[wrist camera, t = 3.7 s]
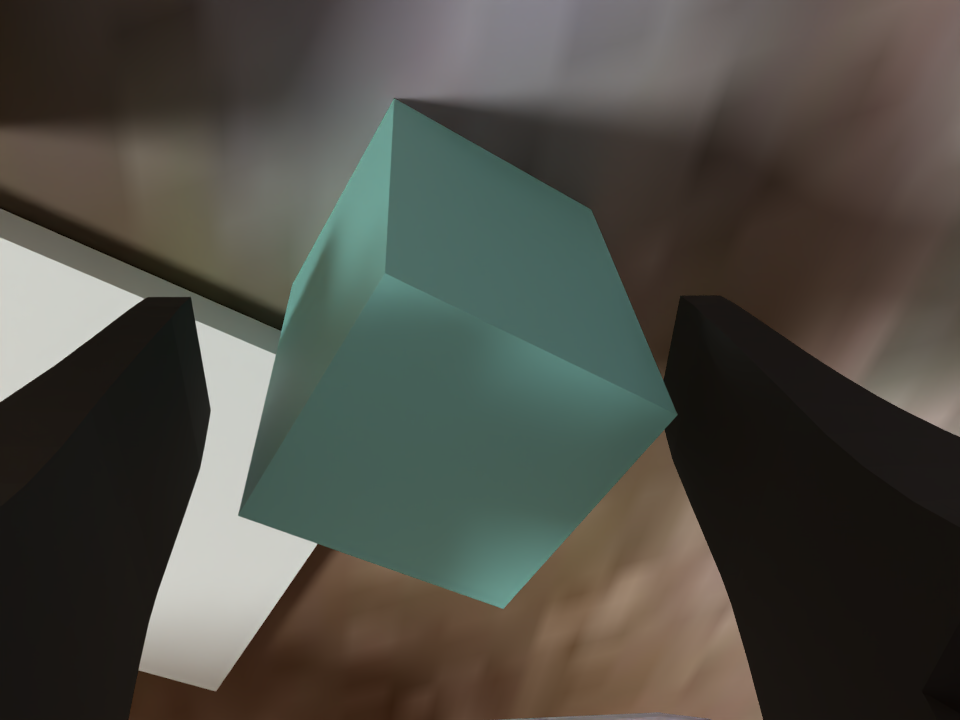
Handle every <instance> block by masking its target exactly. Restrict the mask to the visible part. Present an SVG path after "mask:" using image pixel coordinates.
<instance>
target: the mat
mask: <svg viewBox="0 0 960 720" xmlns="http://www.w3.org/2000/svg"><path fill="white" fill-rule="evenodd" d="M147 297H191V300H192V306H193V311H194V317H195V323H196V328H197V334H198V340H199V346H200V351H201V357H202V363H203V368H204V374H205V380H206V385H207V391H208V397H209V402H210V408H211V413H210V419H209V425H208V430H207V436H206V442H205V447H204V452H203V457H202V462H201V467H200V470H199V474H198V477H197V480H196V483H195V486H194V489H193V492H192V495H191V498H190V501H189V504H188V506H187V509H186V512H185V515H184V518H183V521H182V524H181V527H180V530H179V533H178V535H177V538H176V541H175V544H174V547H173V550H172V553H171V556H170V558H169V561H168V564H167V567H166V570H165V573H164V576H163V579H162V582H161V584H160V587H159V590H158V593H157V596H156V600H155V603H154V607H153V610H152V614H151V617H150V620H149V624H148V629H147V633H146V638H145V642H144V647H143V651H142V656H141V660H140V665H139V671H143V672H146V673H150V674H154V675H157V676H161V677H165V678H168V679H172V680H176V681H179V682H183V683H187V684H190V685H194V686H198V687H201V688H205V689H209V690H212V691H217V689H218V688H219V686H220V685H221V683H222V682H223V680H224V679H225V678H226V676H227V675H228V673H229V672H230V670H231V669H232V667H233V666H234V665H235V663H236V662H237V660H238V659H239V657H240V656H241V654H242V653H243V651H244V650H245V649H246V647H247V646H248V644H249V643H250V641H251V640H252V638H253V637H254V635H255V634H256V633H257V631H258V630H259V628H260V627H261V625H262V624H263V622H264V621H265V620H266V618H267V617H268V615H269V614H270V612H271V611H272V609H273V608H274V606H275V605H276V604H277V602H278V601H279V599H280V598H281V596H282V595H283V593H284V592H285V590H286V589H287V588H288V586H289V585H290V583H291V582H292V580H293V579H294V577H295V576H296V575H297V573H298V572H299V570H300V569H301V567H302V566H303V564H304V563H305V561H306V560H307V559H308V557H309V556H310V554H311V553H312V551H313V550H314V548H315V547H316V545H317V543H314V542H311V541H308V540H306V539H303V538H300V537H297V536H294V535H291V534H288V533H286V532H283V531H280V530H277V529H274V528H271V527H268V526H266V525H263V524H260V523H257V522H254V521H251V520H248V519H246V518H243V517H240V516H238V513H239V509H240V505H241V501H242V497H243V492H244V488H245V484H246V480H247V475H248V471H249V467H250V463H251V458H252V454H253V450H254V446H255V441H256V437H257V433H258V429H259V424H260V420H261V416H262V412H263V407H264V403H265V399H266V395H267V390H268V386H269V382H270V378H271V373H272V369H273V365H274V361H275V356H276V352H277V348H278V344H279V339H280V335H281V331H280V330H277V329H275V328H273V327H271V326H268V325H266V324H264V323H261V322H259V321H257V320H255V319H252V318H250V317H248V316H245V315H243V314H241V313H238V312H236V311H234V310H232V309H229V308H227V307H225V306H222V305H220V304H218V303H216V302H213V301H211V300H209V299H206V298H204V297H202V296H200V295H197V294H195V293H193V292H190V291H188V290H186V289H184V288H181V287H179V286H177V285H174V284H172V283H170V282H167V281H165V280H163V279H161V278H158V277H156V276H154V275H151V274H149V273H147V272H145V271H142V270H140V269H138V268H135V267H133V266H131V265H129V264H126V263H124V262H122V261H119V260H117V259H115V258H112V257H110V256H108V255H106V254H103V253H101V252H99V251H96V250H94V249H92V248H90V247H87V246H85V245H83V244H80V243H78V242H76V241H74V240H71V239H69V238H67V237H64V236H62V235H60V234H57V233H55V232H53V231H51V230H48V229H46V228H44V227H41V226H39V225H37V224H35V223H32V222H30V221H28V220H25V219H23V218H21V217H19V216H16V215H14V214H12V213H9V212H7V211H5V210H2V209H0V402H1V401H3V400H4V399H6V398H7V397H9V396H10V395H11V394H13V393H14V392H16V391H17V390H19V389H20V388H22V387H23V386H25V385H26V384H28V383H29V382H31V381H32V380H34V379H35V378H37V377H38V376H40V375H41V374H43V373H44V372H46V371H47V370H49V369H50V368H52V367H53V366H54V365H56V364H57V363H59V362H60V361H61V360H63V359H64V358H65V357H67V356H68V355H69V354H71V353H72V352H73V351H75V350H76V349H77V348H79V347H80V346H81V345H83V344H84V343H85V342H87V341H88V340H90V339H91V338H92V337H94V336H95V335H96V334H97V333H99V332H100V331H101V330H103V329H104V328H105V327H107V326H108V325H109V324H111V323H112V322H113V321H114V320H116V319H117V318H118V317H120V316H121V315H122V314H124V313H125V312H126V311H128V310H129V309H130V308H132V307H133V306H135V305H136V304H137V303H139V302H141V301H142V300H144V299H145V298H147Z"/></svg>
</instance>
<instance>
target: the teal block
mask: <svg viewBox="0 0 960 720" xmlns="http://www.w3.org/2000/svg"><path fill="white" fill-rule="evenodd" d="M676 416H677V412H676V410H675V408H674V405H673V403H672V400H671V398H670V396H669V393H668V391H667V389H666V386H665V384H664V381H663V379H662V377H661V374H660V372H659V370H658V367H657V365H656V362H655V360H654V358H653V355H652V353H651V350H650V348H649V346H648V343H647V341H646V339H645V336H644V334H643V331H642V329H641V327H640V324H639V322H638V320H637V317H636V315H635V312H634V310H633V308H632V305H631V303H630V301H629V298H628V296H627V293H626V291H625V289H624V286H623V284H622V282H621V279H620V277H619V274H618V272H617V270H616V267H615V265H614V262H613V260H612V258H611V255H610V253H609V251H608V248H607V246H606V243H605V241H604V239H603V236H602V234H601V232H600V229H599V227H598V224H597V222H596V220H595V217H594V215H593V213H592V210H591V209H589V208H587V207H586V206H584V205H582V204H580V203H579V202H577V201H575V200H573V199H572V198H570V197H568V196H566V195H564V194H563V193H561V192H559V191H557V190H556V189H554V188H552V187H550V186H549V185H547V184H545V183H543V182H541V181H540V180H538V179H536V178H534V177H533V176H531V175H529V174H527V173H526V172H524V171H522V170H520V169H518V168H517V167H515V166H513V165H511V164H510V163H508V162H506V161H504V160H503V159H501V158H499V157H497V156H496V155H494V154H492V153H490V152H488V151H487V150H485V149H483V148H481V147H480V146H478V145H476V144H474V143H473V142H471V141H469V140H467V139H465V138H464V137H462V136H460V135H458V134H457V133H455V132H453V131H451V130H450V129H448V128H446V127H444V126H442V125H441V124H439V123H437V122H435V121H434V120H432V119H430V118H428V117H427V116H425V115H423V114H421V113H419V112H418V111H416V110H414V109H412V108H411V107H409V106H407V105H405V104H404V103H402V102H400V101H398V100H396V99H395V98H394V100H393V101H392V103H391V105H390V107H389V109H388V111H387V112H386V114H385V116H384V118H383V120H382V122H381V123H380V125H379V127H378V129H377V131H376V133H375V134H374V136H373V138H372V140H371V142H370V144H369V145H368V147H367V149H366V151H365V153H364V154H363V156H362V158H361V160H360V162H359V164H358V165H357V167H356V169H355V171H354V173H353V175H352V176H351V178H350V180H349V182H348V184H347V186H346V187H345V189H344V191H343V193H342V195H341V197H340V198H339V200H338V202H337V204H336V206H335V208H334V209H333V211H332V213H331V215H330V217H329V219H328V220H327V222H326V224H325V226H324V228H323V230H322V231H321V233H320V235H319V237H318V239H317V241H316V242H315V244H314V246H313V248H312V250H311V252H310V253H309V255H308V257H307V259H306V261H305V263H304V264H303V266H302V268H301V270H300V272H299V274H298V275H297V277H296V279H295V281H294V283H293V285H292V288H291V293H290V297H289V301H288V305H287V310H286V314H285V318H284V322H283V327H282V331H281V335H280V339H279V344H278V348H277V352H276V356H275V361H274V365H273V369H272V373H271V378H270V382H269V386H268V390H267V395H266V399H265V403H264V407H263V412H262V416H261V420H260V424H259V429H258V433H257V437H256V441H255V446H254V450H253V454H252V458H251V463H250V467H249V471H248V475H247V480H246V484H245V488H244V492H243V497H242V501H241V505H240V509H239V513H238V516H240V517H243V518H246V519H248V520H251V521H254V522H257V523H260V524H263V525H266V526H268V527H271V528H274V529H277V530H280V531H283V532H286V533H288V534H291V535H294V536H297V537H300V538H303V539H306V540H308V541H311V542H314V543H317V544H320V545H323V546H325V547H328V548H331V549H334V550H337V551H340V552H343V553H345V554H348V555H351V556H354V557H357V558H360V559H363V560H365V561H368V562H371V563H374V564H377V565H380V566H383V567H385V568H388V569H391V570H394V571H397V572H400V573H402V574H405V575H408V576H411V577H414V578H417V579H420V580H422V581H425V582H428V583H431V584H434V585H437V586H440V587H442V588H445V589H448V590H451V591H454V592H457V593H460V594H462V595H465V596H468V597H471V598H474V599H477V600H479V601H482V602H485V603H488V604H491V605H494V606H497V607H499V608H502V609H503V608H504V607H505V606H506V605H507V604H508V603H509V602H510V601H511V600H512V598H513V597H514V596H515V595H516V594H517V593H518V592H519V591H520V590H521V588H522V587H523V586H524V585H525V584H526V583H527V582H528V581H529V580H530V578H531V577H532V576H533V575H534V574H535V573H536V572H537V571H538V570H539V568H540V567H541V566H542V565H543V564H544V563H545V562H546V561H547V560H548V558H549V557H550V556H551V555H552V554H553V553H554V552H555V551H556V550H557V548H558V547H559V546H560V545H561V544H562V543H563V542H564V541H565V539H566V538H567V537H568V536H569V535H570V534H571V533H572V532H573V531H574V529H575V528H576V527H577V526H578V525H579V524H580V523H581V522H582V521H583V519H584V518H585V517H586V516H587V515H588V514H589V513H590V512H591V511H592V509H593V508H594V507H595V506H596V505H597V504H598V503H599V502H600V501H601V499H602V498H603V497H604V496H605V495H606V494H607V493H608V492H609V491H610V489H611V488H612V487H613V486H614V485H615V484H616V483H617V482H618V481H619V479H620V478H621V477H622V476H623V475H624V474H625V473H626V472H627V471H628V469H629V468H630V467H631V466H632V465H633V464H634V463H635V462H636V461H637V459H638V458H639V457H640V456H641V455H642V454H643V453H644V452H645V451H646V449H647V448H648V447H649V446H650V445H651V444H652V443H653V442H654V440H655V439H656V438H657V437H658V436H659V435H660V434H661V433H662V432H663V430H664V429H665V428H666V427H667V426H668V425H669V424H670V423H671V422H672V420H673V419H674V418H675V417H676Z"/></svg>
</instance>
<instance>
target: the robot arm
mask: <svg viewBox="0 0 960 720" xmlns="http://www.w3.org/2000/svg"><path fill="white" fill-rule="evenodd" d="M664 384H665V386H666V389H667V391H668V393H669V396H670V398H671V400H672V403H673V405H674V408H675V410H676V412H677V416H676V417H675V418H674V419H673V420H672V422H671V423H670V424H669V425H668V426H667V427H666V428H665V433H666V437H667V440H668V444H669V448H670V452H671V455H672V459H673V462H674V464H675V467H676V469H677V472H678V474H679V477H680V479H681V481H682V484H683V486H684V489H685V491H686V494H687V496H688V499H689V501H690V503H691V506H692V508H693V510H694V513H695V515H696V518H697V520H698V522H699V525H700V527H701V529H702V532H703V534H704V536H705V539H706V541H707V544H708V546H709V548H710V551H711V553H712V555H713V558H714V560H715V563H716V565H717V567H718V570H719V572H720V574H721V577H722V580H723V582H724V585H725V588H726V591H727V593H728V596H729V599H730V602H731V605H732V608H733V612H734V615H735V618H736V622H737V625H738V629H739V632H740V636H741V639H742V642H743V646H744V649H745V653H746V656H747V660H748V663H749V667H750V671H751V675H752V679H753V682H754V686H755V690H756V694H757V697H758V701H759V705H760V709H761V713H762V716H763V720H960V437H958V436H956V435H954V434H952V433H949V432H947V431H945V430H943V429H941V428H939V427H937V426H935V425H933V424H931V423H929V422H927V421H925V420H923V419H921V418H918V417H916V416H914V415H912V414H910V413H908V412H906V411H904V410H902V409H900V408H898V407H897V406H895V405H893V404H891V403H889V402H887V401H885V400H884V399H882V398H880V397H878V396H876V395H875V394H873V393H871V392H870V391H868V390H866V389H865V388H863V387H861V386H860V385H858V384H856V383H854V382H853V381H851V380H849V379H848V378H846V377H844V376H843V375H841V374H839V373H838V372H836V371H835V370H833V369H832V368H830V367H828V366H827V365H825V364H824V363H822V362H821V361H819V360H818V359H816V358H814V357H813V356H811V355H810V354H808V353H807V352H805V351H804V350H802V349H801V348H799V347H798V346H796V345H795V344H794V343H792V342H791V341H789V340H788V339H786V338H785V337H783V336H782V335H780V334H779V333H777V332H776V331H774V330H773V329H772V328H770V327H769V326H767V325H766V324H764V323H763V322H761V321H760V320H758V319H757V318H756V317H754V316H753V315H751V314H750V313H748V312H747V311H745V310H744V309H742V308H740V307H739V306H737V305H736V304H734V303H732V302H731V301H729V300H727V299H725V298H724V297H722V296H680V301H679V306H678V311H677V316H676V321H675V326H674V331H673V336H672V341H671V346H670V351H669V356H668V361H667V366H666V371H665V376H664ZM210 413H211V408H210V402H209V397H208V391H207V385H206V380H205V374H204V368H203V363H202V357H201V351H200V346H199V340H198V334H197V328H196V323H195V317H194V311H193V306H192V300H191V297H147V298H145V299H144V300H142V301H141V302H139V303H137V304H136V305H135V306H133V307H132V308H130V309H129V310H128V311H126V312H125V313H124V314H122V315H121V316H120V317H118V318H117V319H116V320H114V321H113V322H112V323H111V324H109V325H108V326H107V327H105V328H104V329H103V330H101V331H100V332H99V333H97V334H96V335H95V336H94V337H92V338H91V339H90V340H88V341H87V342H85V343H84V344H83V345H81V346H80V347H79V348H77V349H76V350H75V351H73V352H72V353H71V354H69V355H68V356H67V357H65V358H64V359H63V360H61V361H60V362H59V363H57V364H56V365H54V366H53V367H52V368H50V369H49V370H47V371H46V372H44V373H43V374H41V375H40V376H38V377H37V378H35V379H34V380H32V381H31V382H29V383H28V384H26V385H25V386H23V387H22V388H20V389H19V390H17V391H16V392H14V393H13V394H11V395H10V396H9V397H7V398H6V399H4V400H3V401H1V402H0V720H128V718H129V713H130V708H131V703H132V698H133V693H134V688H135V683H136V679H137V674H138V670H139V665H140V660H141V656H142V651H143V647H144V642H145V638H146V633H147V629H148V624H149V620H150V617H151V614H152V610H153V607H154V603H155V600H156V596H157V593H158V590H159V587H160V584H161V582H162V579H163V576H164V573H165V570H166V567H167V564H168V561H169V558H170V556H171V553H172V550H173V547H174V544H175V541H176V538H177V535H178V533H179V530H180V527H181V524H182V521H183V518H184V515H185V512H186V509H187V506H188V504H189V501H190V498H191V495H192V492H193V489H194V486H195V483H196V480H197V477H198V474H199V470H200V467H201V462H202V457H203V452H204V447H205V442H206V436H207V430H208V425H209V419H210ZM501 720H711V719H706V718H698V717H690V716H682V715H674V714H665V713H638V714H615V715H592V716H570V717H547V718H524V719H501Z"/></svg>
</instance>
